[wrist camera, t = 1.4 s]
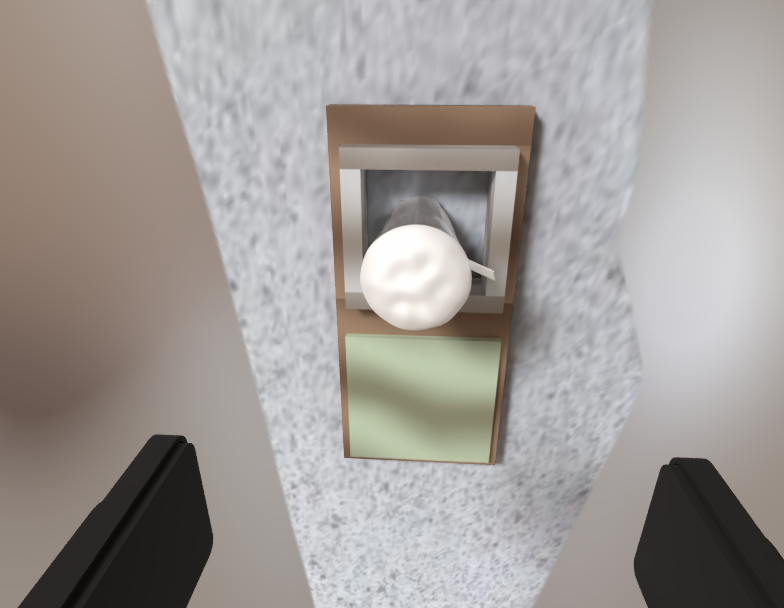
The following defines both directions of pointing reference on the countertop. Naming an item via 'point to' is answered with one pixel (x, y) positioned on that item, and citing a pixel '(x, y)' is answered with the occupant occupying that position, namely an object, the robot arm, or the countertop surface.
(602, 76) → the countertop surface
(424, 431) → the board
